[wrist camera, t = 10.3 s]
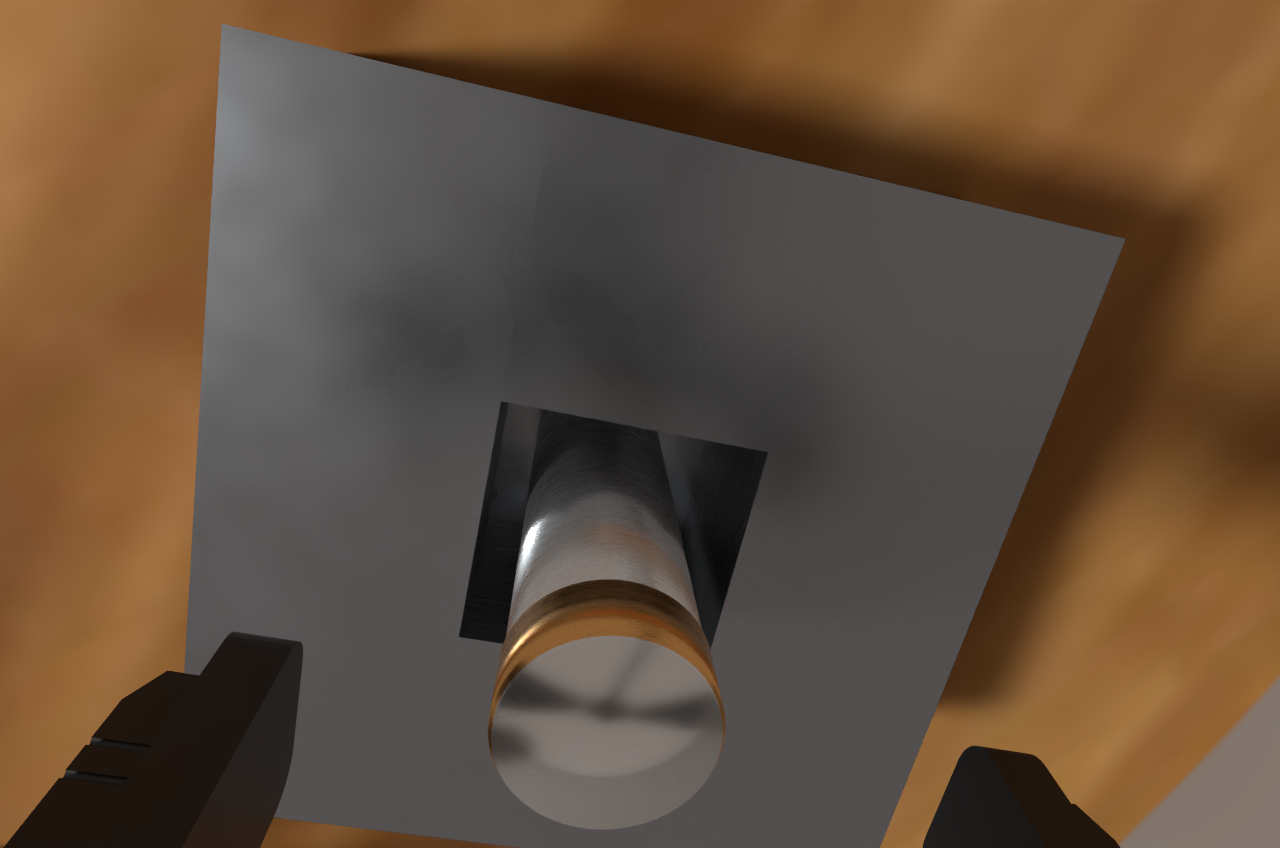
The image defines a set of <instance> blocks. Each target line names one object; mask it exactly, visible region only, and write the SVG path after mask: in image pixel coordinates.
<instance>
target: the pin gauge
mask: <svg viewBox="0 0 1280 848" xmlns="http://www.w3.org/2000/svg"><path fill="white" fill-rule="evenodd" d="M725 728H726V723H725V712H724V708H723V703H722V699H721V695H720V690H719V686H718V682H717V677H716V673H715V669H714V664H713V660H712V656H711V652H710V648H709V644H708V641H707V639H706V636H705V634H704V632H703V630H702V628H701V624H700V619H699V615H698V610H697V606H696V601H695V597H694V592H693V588H692V583H691V579H690V574H689V570H688V565H687V561H686V557H685V552H684V548H683V543H682V539H681V534H680V530H679V525H678V521H677V516H676V512H675V507H674V503H673V498H672V494H671V490H670V485H669V481H668V476H667V472H666V467H665V463H664V458H663V454H662V449H661V445H660V440H659V436H658V431H654V430H649V429H644V428H639V427H634V426H628V425H623V424H618V423H613V422H607V421H602V420H597V419H592V418H586V417H581V416H576V415H571V414H565V413H560V412H555V411H550V410H547V411H546V412H545V414H544V416H543V417H542V420H541V422H540V425H539V429H538V433H537V440H536V446H535V453H534V459H533V466H532V472H531V478H530V485H529V491H528V498H527V504H526V511H525V517H524V524H523V530H522V537H521V543H520V549H519V556H518V562H517V569H516V575H515V582H514V588H513V595H512V601H511V608H510V614H509V621H508V627H507V633H506V638H505V641H504V643H503V645H502V648H501V652H500V655H499V660H498V666H497V673H496V679H495V685H494V691H493V697H492V704H491V710H490V716H489V724H488V743H489V748H490V753H491V756H492V759H493V762H494V764H495V767H496V769H497V770H498V772H499V774H500V776H501V778H502V779H503V780H504V782H505V784H506V785H507V786H508V787H509V789H510V790H511V791H512V793H513V794H514V795H515V796H516V797H517V798H519V799H520V800H521V801H522V802H523V803H524V804H526V805H527V806H528V807H530V808H531V809H532V810H534V811H536V812H537V813H539V814H541V815H543V816H544V817H547V818H549V819H551V820H554V821H556V822H559V823H562V824H566V825H569V826H574V827H579V828H585V829H598V830H605V829H620V828H627V827H632V826H636V825H640V824H644V823H647V822H650V821H653V820H655V819H658V818H660V817H662V816H664V815H666V814H668V813H670V812H672V811H673V810H675V809H676V808H678V807H680V806H681V805H682V804H684V803H685V802H686V801H687V800H689V799H690V798H691V797H692V796H693V795H694V794H695V793H696V792H697V791H698V790H699V789H700V788H701V787H702V786H703V784H704V783H705V782H706V780H707V779H708V778H709V776H710V774H711V772H712V771H713V769H714V767H715V765H716V763H717V761H718V759H719V756H720V754H721V751H722V748H723V743H724V739H725Z"/></svg>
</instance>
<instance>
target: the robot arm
mask: <svg viewBox="0 0 1280 848" xmlns="http://www.w3.org/2000/svg"><path fill="white" fill-rule="evenodd" d="M302 663H303V645H302V643H301V642H300V641H293V640H287V639H280V638H274V637H267V636H260V635H254V634H247V633H241V632H231V633H230V634H229V635H228V636H227V637H226V638H225V639H224V641H223V642H222V644H221V645H220V647H219V648H218V649H217V651H216V652H215V654H214V655H213V657H212V658H211V660H210V661H209V662H208V664H207V665H206V667H205V668H204V670H203V671H202V672H201V674H200V675H193V674H186V673H180V672H173V671H166V672H165V673H163V674H162V675H160V676H158V677H157V678H155V679H154V680H152V681H150V682H149V683H147V684H146V685H144V686H142V687H141V688H139V689H138V690H136V691H134V692H133V693H131V694H130V695H128V696H127V697H125V698H123V699H122V700H121V701H120V702H119V704H118V705H117V706H116V707H115V709H114V710H113V711H112V712H111V714H110V715H109V716H108V717H107V719H106V720H105V721H104V722H103V724H102V725H101V726H100V727H99V729H98V730H97V731H96V732H95V734H94V735H93V736H92V739H91V742H90V744H89V745H85V746H84V748H83V749H82V750H81V751H80V753H79V754H78V755H77V756H76V758H75V759H74V760H73V761H72V763H71V764H70V765H69V766H68V768H67V769H66V772H65V775H64V777H63V778H59V779H58V780H57V781H56V783H55V784H54V785H53V786H52V788H51V789H50V790H49V791H48V793H47V794H46V795H45V796H44V798H43V799H42V800H41V801H40V803H39V804H38V805H37V806H36V808H35V809H34V810H33V811H32V813H31V814H30V815H29V816H28V818H27V819H26V820H25V821H24V823H23V824H22V825H21V826H20V828H19V829H18V830H17V831H16V833H15V834H14V835H13V836H12V838H11V839H10V840H9V841H8V843H7V844H6V845H5V847H4V848H260V846H261V844H262V841H263V839H264V837H265V835H266V833H267V830H268V828H269V826H270V824H271V822H272V819H273V817H274V815H275V813H276V810H277V808H278V805H279V803H280V800H281V797H282V794H283V791H284V788H285V785H286V781H287V777H288V774H289V769H290V765H291V760H292V755H293V747H294V738H295V729H296V719H297V710H298V701H299V691H300V682H301V672H302ZM923 848H1120V847H1119V845H1118V844H1117V842H1116V841H1115V840H1114V839H1113V838H1112V837H1111V836H1110V835H1109V834H1107V833H1106V832H1105V831H1104V830H1103V829H1102V828H1101V827H1100V826H1099V825H1098V824H1096V823H1095V822H1094V821H1093V820H1092V819H1091V818H1090V817H1089V816H1088V815H1087V814H1085V813H1084V812H1083V811H1082V810H1081V809H1080V808H1079V807H1078V806H1077V805H1076V804H1071V803H1070V801H1069V800H1068V798H1067V797H1066V795H1065V794H1064V793H1063V791H1062V790H1061V788H1060V787H1059V785H1058V784H1057V782H1056V781H1055V780H1054V778H1053V777H1052V775H1051V774H1050V772H1049V771H1048V769H1047V768H1046V766H1045V765H1044V764H1043V763H1042V761H1041V760H1040V759H1038V758H1037V757H1036V756H1034V755H1032V754H1026V753H1020V752H1013V751H1007V750H1000V749H993V748H987V747H980V746H971V747H969V748H967V749H966V750H965V751H964V752H963V753H962V755H961V756H960V758H959V760H958V762H957V765H956V767H955V769H954V772H953V774H952V776H951V779H950V781H949V783H948V786H947V788H946V790H945V793H944V795H943V797H942V800H941V802H940V804H939V807H938V809H937V811H936V814H935V816H934V818H933V821H932V823H931V825H930V828H929V830H928V832H927V835H926V837H925V840H924V844H923Z"/></svg>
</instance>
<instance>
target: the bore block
mask: <svg viewBox="0 0 1280 848" xmlns="http://www.w3.org/2000/svg"><path fill="white" fill-rule="evenodd" d="M1125 240H1126V239H1124V238H1120V237H1116V236H1112V235H1107V234H1103V233H1099V232H1095V231H1091V230H1086V229H1082V228H1078V227H1074V226H1070V225H1065V224H1061V223H1057V222H1053V221H1049V220H1044V219H1040V218H1036V217H1032V216H1027V215H1023V214H1019V213H1015V212H1011V211H1006V210H1002V209H998V208H994V207H990V206H985V205H981V204H977V203H973V202H969V201H964V200H960V199H956V198H952V197H948V196H943V195H939V194H935V193H931V192H927V191H922V190H918V189H914V188H910V187H906V186H901V185H897V184H893V183H889V182H885V181H880V180H876V179H872V178H868V177H864V176H859V175H855V174H851V173H847V172H843V171H838V170H834V169H830V168H826V167H822V166H817V165H813V164H809V163H805V162H801V161H796V160H792V159H788V158H784V157H780V156H775V155H771V154H767V153H763V152H759V151H754V150H750V149H746V148H742V147H738V146H733V145H729V144H725V143H721V142H717V141H712V140H708V139H704V138H700V137H696V136H691V135H687V134H683V133H679V132H675V131H670V130H666V129H662V128H658V127H653V126H649V125H645V124H641V123H637V122H632V121H628V120H624V119H620V118H616V117H611V116H607V115H603V114H599V113H595V112H590V111H586V110H582V109H578V108H574V107H569V106H565V105H561V104H557V103H553V102H548V101H544V100H540V99H536V98H532V97H527V96H523V95H519V94H515V93H511V92H506V91H502V90H498V89H494V88H490V87H485V86H481V85H477V84H473V83H469V82H464V81H460V80H456V79H452V78H448V77H443V76H439V75H435V74H431V73H427V72H422V71H418V70H414V69H410V68H406V67H401V66H397V65H393V64H389V63H385V62H380V61H376V60H372V59H368V58H364V57H359V56H355V55H351V54H347V53H343V52H338V51H334V50H330V49H326V48H322V47H317V46H313V45H309V44H305V43H300V42H296V41H292V40H288V39H284V38H279V37H275V36H271V35H267V34H263V33H258V32H254V31H250V30H246V29H242V28H237V27H233V26H229V25H225V24H222V31H221V49H220V66H219V83H218V101H217V118H216V135H215V153H214V170H213V187H212V204H211V222H210V239H209V256H208V274H207V291H206V308H205V326H204V343H203V360H202V378H201V395H200V412H199V429H198V447H197V464H196V481H195V499H194V516H193V533H192V551H191V568H190V585H189V602H188V620H187V637H186V654H185V672H184V673H186V674H193V675H200V674H201V672H202V671H203V670H204V668H205V667H206V665H207V664H208V662H209V661H210V660H211V658H212V657H213V655H214V654H215V652H216V651H217V649H218V648H219V647H220V645H221V644H222V642H223V641H224V639H225V638H226V637H227V636H228V635H229V634H230V633H231V632H241V633H247V634H254V635H260V636H267V637H274V638H280V639H287V640H293V641H300V642H301V643H302V645H303V663H302V672H301V682H300V691H299V701H298V710H297V719H296V729H295V738H294V747H293V755H292V760H291V765H290V769H289V774H288V777H287V781H286V785H285V788H284V791H283V794H282V797H281V800H280V803H279V805H278V808H277V810H276V813H275V815H274V817H275V818H283V819H291V820H299V821H308V822H316V823H324V824H332V825H340V826H348V827H356V828H364V829H372V830H380V831H388V832H397V833H405V834H413V835H421V836H429V837H437V838H445V839H453V840H461V841H469V842H477V843H486V844H494V845H502V846H510V847H518V848H880V846H881V843H882V841H883V838H884V836H885V833H886V831H887V828H888V826H889V823H890V821H891V818H892V816H893V813H894V811H895V808H896V806H897V804H898V801H899V799H900V796H901V794H902V791H903V789H904V786H905V784H906V781H907V779H908V776H909V774H910V771H911V769H912V766H913V764H914V762H915V759H916V757H917V754H918V752H919V749H920V747H921V744H922V742H923V739H924V737H925V734H926V732H927V729H928V727H929V724H930V722H931V719H932V717H933V715H934V712H935V710H936V707H937V705H938V702H939V700H940V697H941V695H942V692H943V690H944V687H945V685H946V682H947V680H948V677H949V675H950V672H951V670H952V668H953V665H954V663H955V660H956V658H957V655H958V653H959V650H960V648H961V645H962V643H963V640H964V638H965V635H966V633H967V630H968V628H969V626H970V623H971V621H972V618H973V616H974V613H975V611H976V608H977V606H978V603H979V601H980V598H981V596H982V593H983V591H984V588H985V586H986V583H987V581H988V579H989V576H990V574H991V571H992V569H993V566H994V564H995V561H996V559H997V556H998V554H999V551H1000V549H1001V546H1002V544H1003V541H1004V539H1005V537H1006V534H1007V532H1008V529H1009V527H1010V524H1011V522H1012V519H1013V517H1014V514H1015V512H1016V509H1017V507H1018V504H1019V502H1020V499H1021V497H1022V494H1023V492H1024V490H1025V487H1026V485H1027V482H1028V480H1029V477H1030V475H1031V472H1032V470H1033V467H1034V465H1035V462H1036V460H1037V457H1038V455H1039V452H1040V450H1041V448H1042V445H1043V443H1044V440H1045V438H1046V435H1047V433H1048V430H1049V428H1050V425H1051V423H1052V420H1053V418H1054V415H1055V413H1056V410H1057V408H1058V405H1059V403H1060V401H1061V398H1062V396H1063V393H1064V391H1065V388H1066V386H1067V383H1068V381H1069V378H1070V376H1071V373H1072V371H1073V368H1074V366H1075V363H1076V361H1077V358H1078V356H1079V354H1080V351H1081V349H1082V346H1083V344H1084V341H1085V339H1086V336H1087V334H1088V331H1089V329H1090V326H1091V324H1092V321H1093V319H1094V316H1095V314H1096V312H1097V309H1098V307H1099V304H1100V302H1101V299H1102V297H1103V294H1104V292H1105V289H1106V287H1107V284H1108V282H1109V279H1110V277H1111V274H1112V272H1113V269H1114V267H1115V265H1116V262H1117V260H1118V257H1119V255H1120V252H1121V250H1122V247H1123V245H1124V242H1125ZM547 410H550V411H555V412H560V413H565V414H571V415H576V416H581V417H586V418H592V419H597V420H602V421H607V422H613V423H618V424H623V425H628V426H634V427H639V428H644V429H649V430H654V431H658V436H659V440H660V445H661V449H662V454H663V458H664V463H665V467H666V472H667V476H668V481H669V485H670V490H671V494H672V498H673V503H674V507H675V512H676V516H677V521H678V525H679V530H680V534H681V539H682V543H683V548H684V552H685V557H686V561H687V565H688V570H689V574H690V579H691V583H692V588H693V592H694V597H695V601H696V606H697V610H698V615H699V619H700V624H701V628H702V630H703V632H704V634H705V636H706V639H707V641H708V644H709V648H710V652H711V656H712V660H713V664H714V669H715V673H716V677H717V682H718V686H719V690H720V695H721V699H722V703H723V708H724V712H725V723H726V728H725V739H724V743H723V748H722V751H721V754H720V756H719V759H718V761H717V763H716V765H715V767H714V769H713V771H712V772H711V774H710V776H709V778H708V779H707V780H706V782H705V783H704V784H703V786H702V787H701V788H700V789H699V790H698V791H697V792H696V793H695V794H694V795H693V796H692V797H691V798H690V799H689V800H687V801H686V802H685V803H684V804H682V805H681V806H680V807H678V808H676V809H675V810H673V811H672V812H670V813H668V814H666V815H664V816H662V817H660V818H658V819H655V820H653V821H650V822H647V823H644V824H640V825H636V826H632V827H627V828H620V829H605V830H598V829H585V828H579V827H574V826H569V825H566V824H562V823H559V822H556V821H554V820H551V819H549V818H547V817H544V816H543V815H541V814H539V813H537V812H536V811H534V810H532V809H531V808H530V807H528V806H527V805H526V804H524V803H523V802H522V801H521V800H520V799H519V798H517V797H516V796H515V795H514V794H513V793H512V791H511V790H510V789H509V787H508V786H507V785H506V784H505V782H504V780H503V779H502V778H501V776H500V774H499V772H498V770H497V769H496V767H495V764H494V762H493V759H492V756H491V753H490V748H489V743H488V724H489V716H490V710H491V704H492V697H493V691H494V685H495V679H496V673H497V666H498V660H499V655H500V652H501V648H502V645H503V643H504V641H505V638H506V633H507V627H508V621H509V614H510V608H511V601H512V595H513V588H514V582H515V575H516V569H517V562H518V556H519V549H520V543H521V537H522V530H523V524H524V517H525V511H526V504H527V498H528V491H529V485H530V478H531V472H532V466H533V459H534V453H535V446H536V440H537V433H538V429H539V425H540V422H541V420H542V417H543V416H544V414H545V412H546V411H547Z"/></svg>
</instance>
